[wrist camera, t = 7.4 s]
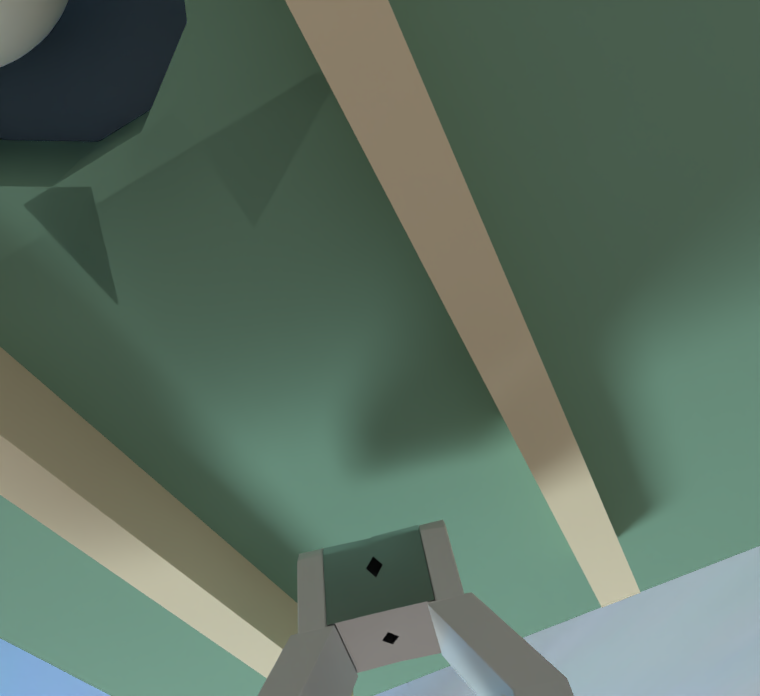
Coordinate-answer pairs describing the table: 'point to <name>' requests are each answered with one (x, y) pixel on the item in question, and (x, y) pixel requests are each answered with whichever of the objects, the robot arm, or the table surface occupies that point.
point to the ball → (26, 25)
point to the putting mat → (381, 325)
